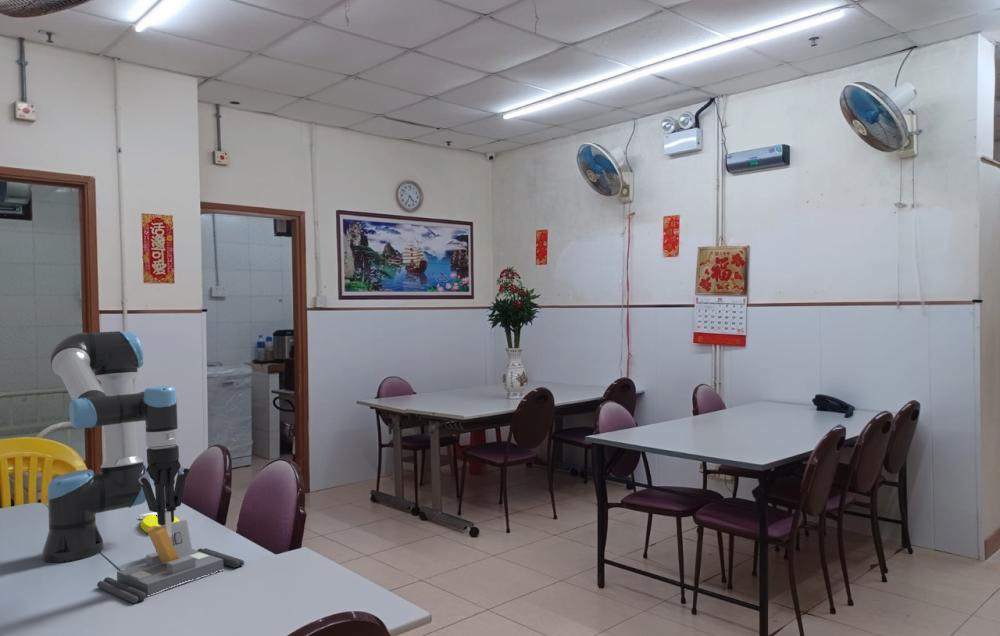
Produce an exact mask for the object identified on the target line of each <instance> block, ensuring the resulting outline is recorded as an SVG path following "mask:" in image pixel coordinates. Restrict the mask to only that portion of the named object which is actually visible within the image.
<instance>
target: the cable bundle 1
mask: <svg viewBox="0 0 1000 636" xmlns="http://www.w3.org/2000/svg"><path fill="white" fill-rule="evenodd" d="M96 587H98V588H99V589H101V590H103V591H106V592H108V593H111V594H113V595H114V596H117V597H119V598H120V599H121V598H122V599H123V600H125V601H127V602H130V603H132V604H136V603H138V601H140V602H142V600H143V601H144V599H145V600H146V598H147V596H146V593H144V592H142V591H140V590H137V589H135V588H133V587H131V586H128V585H126V584H124V583H121V582H119V581H117V579H114V578H112V577H109V576H107V577H105V578H104V579H103V580H99V581H97V584H96Z"/></svg>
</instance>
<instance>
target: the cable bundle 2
mask: <svg viewBox="0 0 1000 636" xmlns="http://www.w3.org/2000/svg"><path fill="white" fill-rule="evenodd" d="M196 551H199V552H202V553H205V554H208V555H211V556H214V557H218V558H221V559H223V566H224V565H225V566H228V567H230V568H233V567H234V569H237V568H238V567H242V565H243V566H244V565H245V561H244V560H243V559H241V558H237V557H234V556H233V555H228V554H226V553H222V552H218V551H217V550H216V551H215V550H212V549H210V548H206V547H205V548H198V549H196ZM236 567H237V568H236Z"/></svg>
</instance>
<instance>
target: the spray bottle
mask: <svg viewBox="0 0 1000 636" xmlns="http://www.w3.org/2000/svg"><path fill="white" fill-rule="evenodd" d="M156 515H157V512H152V511H150V512H147V513H142V514H139V515H138V517H139V516H143V517H144V518H143V519H141V521H140V528H141V530H142V529H143V530H144V531H145V532H144V531H143V530H142V531H143V532H144V533H146V532H147V530H148V529H149V528H151V527H152V526H157V527H158V526H161V525H159V524H158V517H157V516H156ZM177 521H180V519H179V518H178V517H176V516H175V515H174V522H177ZM174 522H172V523H174ZM147 533H148V532H147ZM147 533H146V534H147Z"/></svg>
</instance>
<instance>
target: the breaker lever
mask: <svg viewBox="0 0 1000 636" xmlns="http://www.w3.org/2000/svg"><path fill="white" fill-rule="evenodd" d="M147 532H148V534H147V535H148V536H149V538H150V540H151V542H152V544H153V547H154V550H155V552H156V551H157V553H158V555H159V558H160V560H161V562H163V563H166V564H167V562H170V561H173V560H176V559H179V558H178V555H177V553H176V551H175V549H174V547H173V544H172V542H171V540H170V538H169V536H168V533H167V531H166V529H163V528H160V527H157V526H152V527H151V528H149V529H148V530H147Z"/></svg>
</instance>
